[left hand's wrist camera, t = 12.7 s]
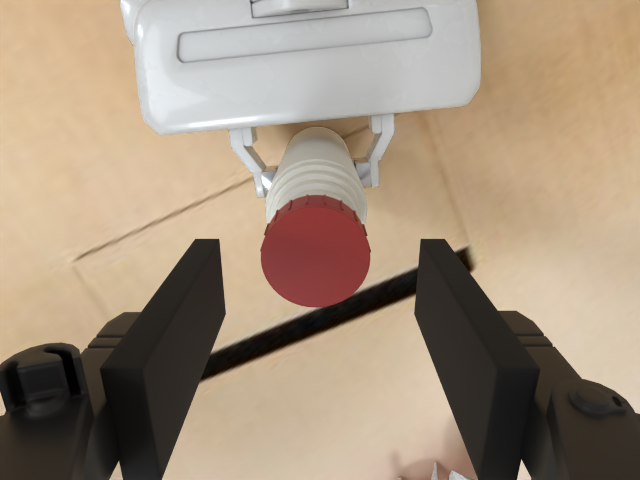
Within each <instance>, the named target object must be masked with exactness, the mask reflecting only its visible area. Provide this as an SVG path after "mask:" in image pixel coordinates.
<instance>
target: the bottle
mask: <svg viewBox="0 0 640 480" xmlns="http://www.w3.org/2000/svg"><path fill="white" fill-rule="evenodd" d="M306 194H308V195H324V194H325V195H326V196H329V197H332V198H335V199H337V200H339V201H340V200H342V201H343V203H345V204H346V205H347V206H349V207H350V208H351V209H352V210H353V211H354V210H355V211H356V214H357V216H358V217H359V219H360V221H361V223H362V224H364V226H365V222H366V216H367V200H366V195H365V192H364V189H363V186H362V184H361V181H360V179H359V176H358V174H357V171H356V169H355V166H354V163H353V161H352V158H351V156H350V153H349V151H348V148H347V146H346V144H345V142H344V140H343V139H342V138H341V137H340V136H339V135H338V134H337V133H336V132H334V131H332V130H330V129H328V128H325V127H310V128H306V129H304V130H302V131H300V132H299V133H297V134H296V135H295V136H294V137H293V138H292V139H291V141H290V142H289V144H288V146H287V148H286V151H285V153H284V155H283V158H282V160H281V162H280V165H279V167H278V169H277V172H276V174H275V176H274V179H273V181H272V183H271V186H270V188H269V190H268V194H267V197H266V203H265V211H266V218H267V224H268V223H269V224H270V222H271V220H272V218H273V217H274V215H275V213H276V210H277V209H278V210H279V209H280V208H282V207H283V206H284V205H285V204H287V203H288V202H289V201H290V200H291V199H292V200H294V199H296V198H299V197H303V196H306Z"/></svg>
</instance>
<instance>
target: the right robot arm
mask: <svg viewBox="0 0 640 480" xmlns="http://www.w3.org/2000/svg"><path fill="white" fill-rule="evenodd" d="M120 8H121V12H122V17H123V21H124V26H125V30H126V33H127V36H128V38H129V40H130V42H131V43H132V45H133V46H134V58H135V71H136V81H137V88H138V96H139V102H140V108H141V113H142V117H143V120H144V121H145V123H146V124H147V125H148V126H149V127H150V128H151V129H152V130H153V131H155V132H156V133H157V134H158V135H160V136H167V135H177V134H187V133H197V132H208V131H218V130H228V129H229V136H230V142H231V148H232V149H233V151H234V152H235V153H236V154H237V156H238V157H239V158H240V159H241V161H242V162H243V163H244V164H245V166H246V167H247V168H248V169H249V171H250V172H251V173H253V175H254V181H255V188H256V195H257V197H258V198H265V197H267V194H268V190H269V188H270V186H271V183H272V181H273V179H274V176H275V174H276V172H277V169H278V166H268V167H266V165H265V164H264V162H263V161H262V160H261V158H260V157H259V156H258V154H257V153H256V151H255V150H254V149H253V147H252V145H253V144H254V143H255V141H256V140H257V133H256V127H258V126H269V125H279V124H289V123H299V122H309V121H320V120H330V119H340V118H350V117H360V116H368V124H369V129H370V130H371V131H372V132H373V133H374V134H376V135H375V137H374V139H373V141H372V143H371V145H370V147H369V149H368V152H367V154H366V156H365V157H362V158H354V159H353V161H354V166H355V169H356V171H357V174H358V176H359V179H360V181H361V184H362V186H363V188H374V187H379V169H378V161H380V160H381V158H382V156H383V154H384V152H385V150H386V148H387V146H388V144H389V142H390V141H391V139H392V137H393V135H394V133H395V127H394V113H401V112H411V111H421V110H432V109H442V108H452V107H462V106H466V105H467V104H468V103H469V102H470V101H471V99H472V98H473V97H474V95H475V94H476V92H477V91H478V89H479V87H480V83H481V40H480V26H479V17H478V8H477V1H476V0H120Z"/></svg>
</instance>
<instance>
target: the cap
mask: <svg viewBox="0 0 640 480" xmlns="http://www.w3.org/2000/svg"><path fill="white" fill-rule="evenodd" d="M264 235H265V238H264V241H263V244H262V247H261V264H262V269H263V272H264V275H265V277H266V279H267V281H268V282H269V284H270V285H271V286H272V288H273V289H274V290H275V291H276V292H277V293H278V294H279V295H281V296H282V297H283V298H285V299H287V300H288V301H290V302H293V303H295V304H298V305H301V306H306V307H325V306H330V305H333V304H336V303H339V302H341V301H343V300H345V299H346V298H348V297H349V296H351V295H352V294H353V293H354V292H355V291H356V290H357V289H358V288H359V287H360V285H361V284H362V283H363V281H364V279H365V277H366V275H367V272H368V269H369V265H370V252H371V250H370V247H369V243H368V240H367V238H366V236H367V233H366V229H365V226H364V224H362V223H361V221H360V219H359V217H358V216H357V214H356V211H355V210H354V211H353V210H352V209H351V208H350V207H349V206H347V205H346V204H345V203H343V201H342V200H340V201H339V200H337V199H335V198H332V197H329V196H326V195H325V194H324V195H308V194H306V196H303V197H299V198H296V199H294V200H292V199H291V200H290V201H289V202H288V203H287V204H285V205H284V206H283V207H282V208H280V209H279V210H278V209H277V210H276V213H275V215H274V217H273V218H272V220H271V222H270V224H269V223H268V224H267V227H266V230H265V233H264Z"/></svg>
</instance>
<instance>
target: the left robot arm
mask: <svg viewBox="0 0 640 480" xmlns="http://www.w3.org/2000/svg"><path fill="white" fill-rule="evenodd" d="M225 315H226V312H225V300H224V289H223V277H222V266H221V254H220V243H219V239H195V240H194V242H193V243H192V244H191V246H190V247H189V248H188V250H187V251H186V252H185V254H184V255H183V256H182V258H181V259H180V260H179V262H178V263H177V265H176V266H175V267H174V269H173V270H172V271H171V273H170V274H169V275H168V277H167V278H166V279H165V281H164V282H163V283H162V285H161V286H160V288H159V289H158V290H157V292H156V293H155V294H154V296H153V297H152V298H151V300H150V301H149V302H148V304H147V305H146V306H145V308H144V309H143V311H142V312H124V313H122V314H121V315H119V316H117V317H116V318H114V319H113V320H111V321H109V322H108V323H107V324H106V325H105V326H104V327H103V328H102V330H101V331H100V332H99V333H98V334H97V337H96V338H94V339H93V340H92V341H91V343H90V344H89V345H88V348H86V349H85V350H84V351H83V352H82V353H81V354H80V351H79V349H78V348H76V347H75V346H74V345H71V344H66V343H50V344H43V345H39V346H35V347H31V348H29V349H26V350H24V351H22V352H19V353H17V354H15V355H13V356H12V357H10V358H9V359H7V360H6V361H4V362H3V363H2V364H1V365H0V392H1V395H2V398H3V402H4V405H5V408H6V412H5V415H2V416H0V480H109V479H110V477H111V475H112V473H113V471H114V469H115V467H116V465H117V463H118V461H119V462H120V467H121V472H122V476H123V480H162V477H163V475H164V472H165V470H166V467H167V464H168V462H169V459H170V457H171V454H172V451H173V449H174V446H175V444H176V441H177V439H178V436H179V433H180V431H181V428H182V426H183V423H184V420H185V418H186V415H187V413H188V410H189V408H190V405H191V402H192V400H193V397H194V395H195V392H196V389H197V387H198V384H199V382H200V379H201V377H202V374H203V371H204V369H205V366H206V364H207V361H208V358H209V356H210V353H211V351H212V348H213V346H214V343H215V340H216V338H217V335H218V333H219V330H220V327H221V325H222V322H223V320H224V317H225ZM414 315H415V317H416V320H417V322H418V325H419V327H420V330H421V333H422V335H423V338H424V340H425V343H426V346H427V348H428V351H429V353H430V356H431V358H432V361H433V364H434V366H435V369H436V371H437V374H438V377H439V379H440V382H441V384H442V387H443V389H444V392H445V395H446V397H447V400H448V402H449V405H450V408H451V410H452V413H453V415H454V418H455V420H456V423H457V426H458V428H459V431H460V433H461V436H462V439H463V441H464V444H465V446H466V449H467V451H468V454H469V457H470V459H471V462H472V464H473V467H474V470H475V472H476V475H477V477H478V480H517V476H518V472H519V467H520V462H521V459H522V461H523V463H524V465H525V467H526V469H527V470H528V472H529V474H530V476H531V480H640V414H638V413H635V412H634V410H633V408H632V407H631V406H630V404H629V403H628V401H627V400H626V399H624V398H623V397H622V396H620V395H619V394H618V393H616V392H615V391H614V390H612V389H610V388H607V387H605V386H603V385H601V384H599V383H595V382H592V381H588V380H585V379H582V378H581V377H580V376H579V375H578V374H577V372H576V371H575V370H574V369H573V368H572V367H571V365H570V364H569V363H568V362H567V361H566V360H565V358H564V357H563V356H562V355H561V354H560V352H559V351H558V350H557V349H556V348H555V347H553V346H552V343H551V342H550V341H549V339H548V338H547V337H546V336H544V334H543V332H542V331H541V330H540V329H539V328H538V327H537V325H536V324H535V323H534V322H533V321H532V320H530V319H528V318H527V317H525V316H524V315H522V314H520V313H519V312H517V311H497V309H496V308H495V306H494V305H493V304H492V302H491V301H490V300H489V298H488V297H487V296H486V294H485V293H484V292H483V290H482V289H481V288H480V286H479V285H478V283H477V282H476V281H475V279H474V278H473V277H472V275H471V274H470V273H469V271H468V270H467V269H466V267H465V266H464V265H463V263H462V262H461V260H460V259H459V258H458V256H457V255H456V254H455V252H454V251H453V250H452V248H451V247H450V246H449V244H448V243H447V242H446V240H445V239H421V243H420V254H419V266H418V277H417V289H416V300H415V312H414Z"/></svg>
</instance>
